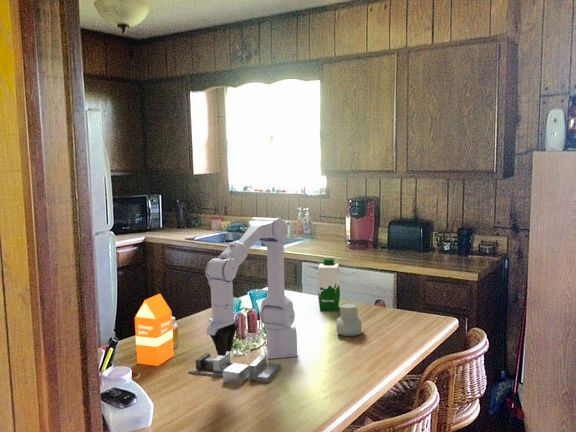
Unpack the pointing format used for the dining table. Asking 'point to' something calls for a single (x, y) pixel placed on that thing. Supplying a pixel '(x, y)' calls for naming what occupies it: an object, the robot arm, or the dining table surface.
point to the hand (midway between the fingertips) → (224, 353)
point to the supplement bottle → (175, 333)
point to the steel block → (236, 373)
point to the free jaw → (213, 362)
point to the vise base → (254, 370)
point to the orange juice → (154, 332)
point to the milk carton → (328, 285)
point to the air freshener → (348, 320)
